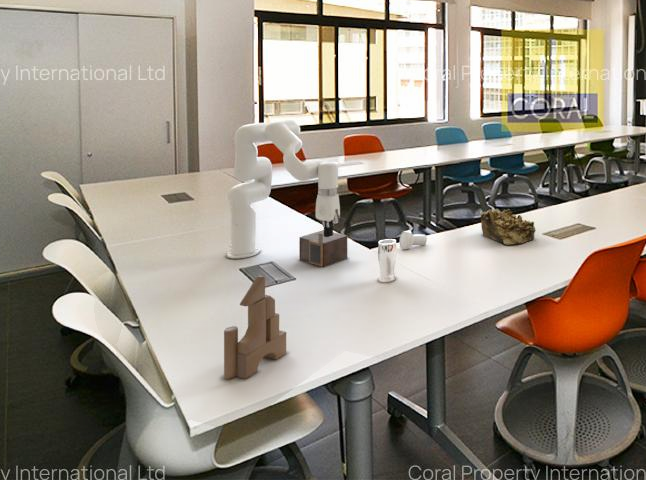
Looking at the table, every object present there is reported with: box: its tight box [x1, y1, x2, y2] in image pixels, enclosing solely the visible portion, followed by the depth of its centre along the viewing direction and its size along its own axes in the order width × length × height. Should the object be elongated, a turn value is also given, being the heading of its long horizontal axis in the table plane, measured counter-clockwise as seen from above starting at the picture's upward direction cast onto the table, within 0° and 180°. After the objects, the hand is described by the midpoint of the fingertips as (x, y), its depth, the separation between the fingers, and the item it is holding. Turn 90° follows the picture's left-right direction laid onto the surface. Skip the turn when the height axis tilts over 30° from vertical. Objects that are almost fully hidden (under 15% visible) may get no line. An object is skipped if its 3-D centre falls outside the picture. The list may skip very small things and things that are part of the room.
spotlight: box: [399, 230, 428, 250], centre depth 247 cm, size 8×11×8 cm
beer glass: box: [377, 238, 397, 283], centre depth 209 cm, size 7×7×15 cm
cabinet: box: [298, 229, 348, 268], centre depth 231 cm, size 12×16×10 cm
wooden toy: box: [223, 275, 287, 380], centre depth 148 cm, size 16×7×25 cm, turn 162°
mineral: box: [480, 208, 536, 246], centre depth 264 cm, size 27×25×15 cm
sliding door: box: [308, 233, 323, 267], centre depth 223 cm, size 1×8×14 cm, turn 60°
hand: (328, 236), depth 219 cm, fingers closed
